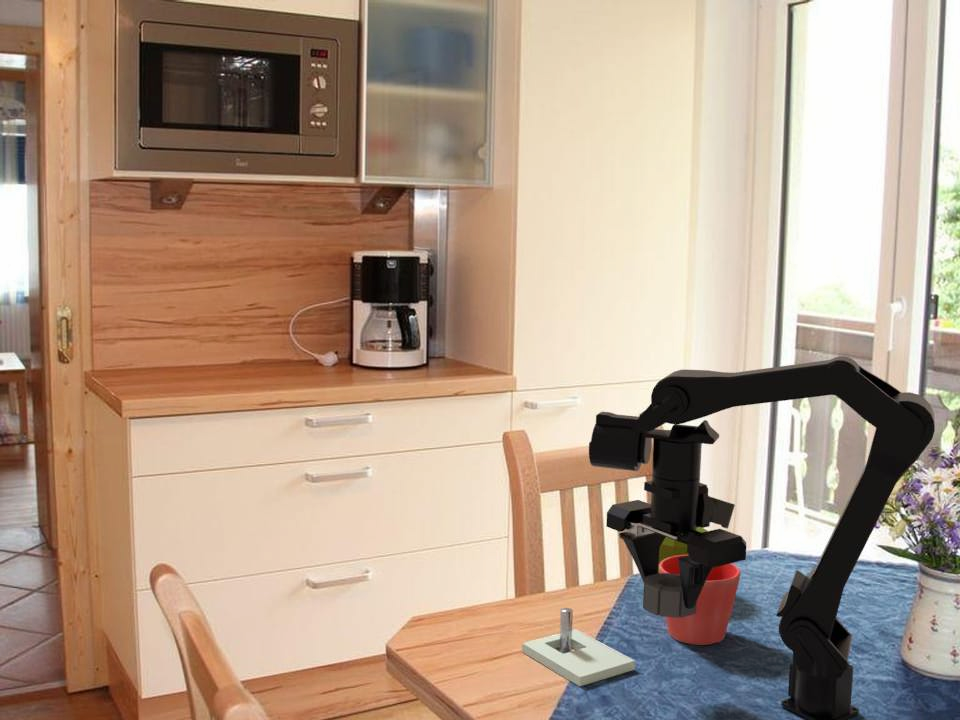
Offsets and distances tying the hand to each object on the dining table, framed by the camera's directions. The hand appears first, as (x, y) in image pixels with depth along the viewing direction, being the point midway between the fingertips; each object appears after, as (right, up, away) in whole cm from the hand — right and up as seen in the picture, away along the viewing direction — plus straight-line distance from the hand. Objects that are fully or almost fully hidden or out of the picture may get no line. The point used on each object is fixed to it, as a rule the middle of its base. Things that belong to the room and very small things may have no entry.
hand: (670, 599), depth 130 cm
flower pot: (+7, -9, +17) cm, 20 cm away
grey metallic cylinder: (-12, -9, +10) cm, 18 cm away
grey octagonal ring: (0, -1, 0) cm, 1 cm away
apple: (+7, -6, +34) cm, 35 cm away
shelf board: (-11, -10, +8) cm, 16 cm away
